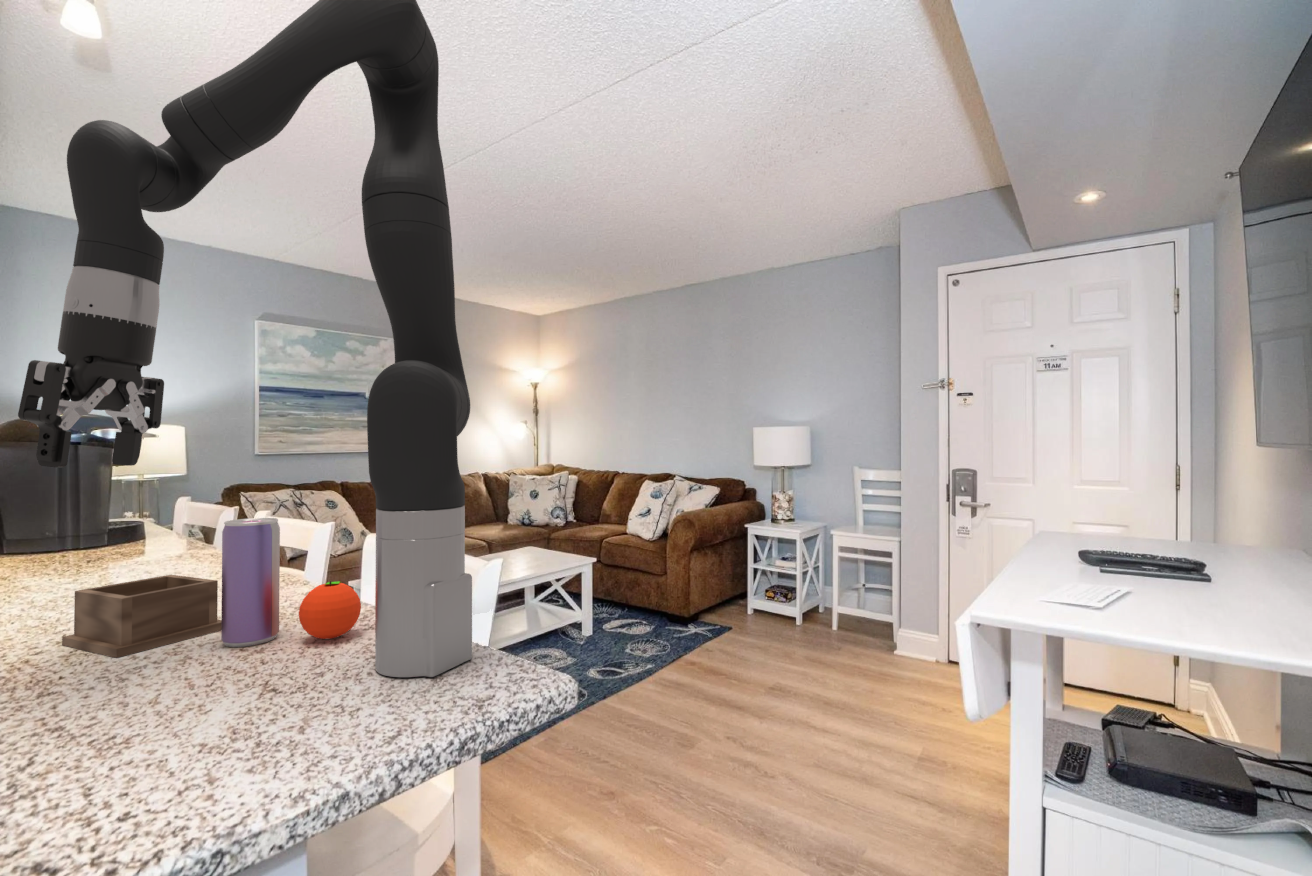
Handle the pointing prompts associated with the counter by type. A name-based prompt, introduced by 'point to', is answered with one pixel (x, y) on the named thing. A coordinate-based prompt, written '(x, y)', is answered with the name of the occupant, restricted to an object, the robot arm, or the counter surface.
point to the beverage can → (250, 581)
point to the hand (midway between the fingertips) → (90, 465)
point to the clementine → (329, 610)
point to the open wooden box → (143, 614)
